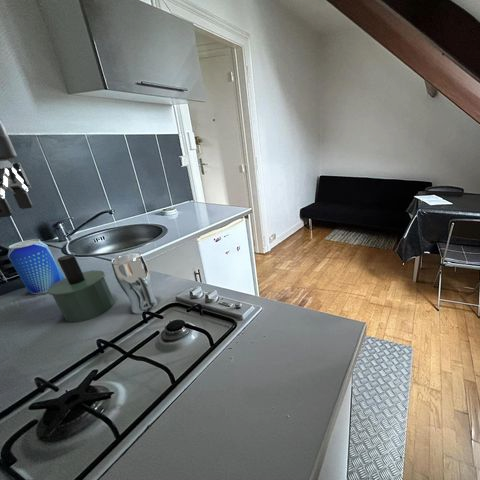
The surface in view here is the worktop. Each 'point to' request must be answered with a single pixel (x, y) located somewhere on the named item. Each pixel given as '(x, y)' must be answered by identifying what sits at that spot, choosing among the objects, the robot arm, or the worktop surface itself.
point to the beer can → (35, 265)
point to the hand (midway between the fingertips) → (17, 212)
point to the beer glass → (135, 281)
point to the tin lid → (74, 277)
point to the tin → (85, 302)
